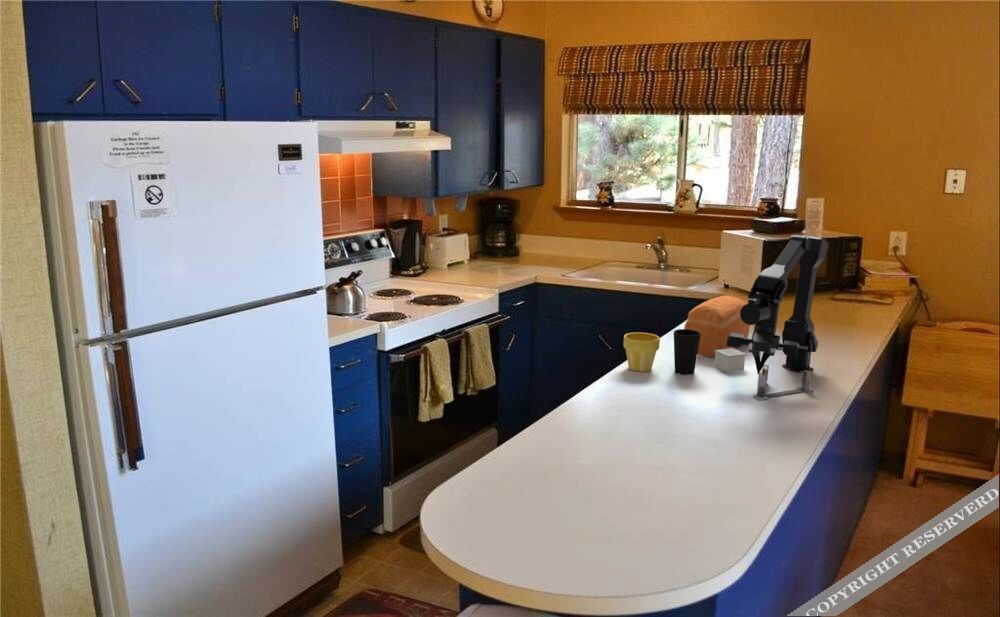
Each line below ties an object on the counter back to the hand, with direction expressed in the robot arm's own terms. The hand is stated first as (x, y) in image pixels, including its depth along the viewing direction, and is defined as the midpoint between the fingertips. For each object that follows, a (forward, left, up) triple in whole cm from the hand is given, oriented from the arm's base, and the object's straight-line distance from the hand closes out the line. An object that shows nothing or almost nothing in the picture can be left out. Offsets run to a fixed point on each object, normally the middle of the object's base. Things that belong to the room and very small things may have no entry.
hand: (758, 373), depth 227 cm
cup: (+12, -18, -4) cm, 21 cm away
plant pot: (+22, -26, -4) cm, 34 cm away
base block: (-4, -16, -4) cm, 17 cm away
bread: (-15, -36, -4) cm, 39 cm away
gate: (+1, +3, -3) cm, 4 cm away
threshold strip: (-1, +8, -3) cm, 9 cm away
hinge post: (+7, +8, -3) cm, 11 cm away
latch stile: (-9, +8, -3) cm, 13 cm away
